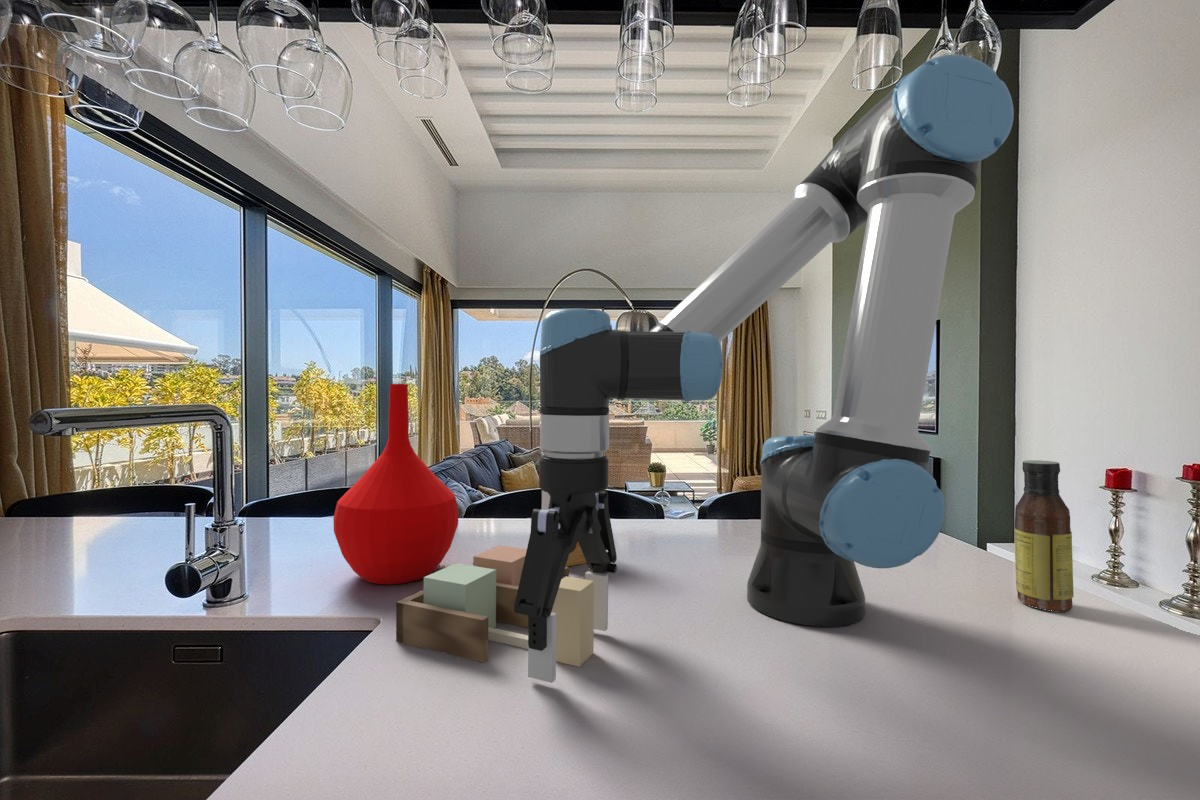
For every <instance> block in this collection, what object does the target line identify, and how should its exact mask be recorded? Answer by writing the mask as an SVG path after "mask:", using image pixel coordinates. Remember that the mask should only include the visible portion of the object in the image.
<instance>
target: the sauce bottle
mask: <svg viewBox="0 0 1200 800" xmlns="http://www.w3.org/2000/svg"><path fill="white" fill-rule="evenodd" d="M1022 471H1023V475H1024V479H1023V481H1024V487H1023V494H1022V496H1021V498H1020V499H1019V501H1018V502H1017V504H1016V505H1015V510H1014V513H1015V514H1014V562H1015V565H1014V566H1015V589H1016V593H1017V599H1018V601H1020V603H1022V602H1023V603H1022V604H1024V603H1025V604H1024V605H1026V604H1028V605H1030V606H1033V607H1037V608H1041V609H1040V610H1042V609H1046V610H1050V611H1049V612H1051V610H1052V611H1059V612H1058V613H1065V612H1069V611H1071V610H1072V608H1073V598H1074V596H1075V595H1074V574H1073V573H1074V572H1073V571H1074V567H1073V566H1074V564H1073V563H1074V562H1073V561H1074V560H1073V532H1072V530H1071V529H1072V528H1071V513H1070V508H1068V506H1067V505H1066V503H1065V502H1064V500H1063V498H1062V496H1061V495H1060V489H1059V487H1060V486H1059V474H1060V473H1061V468H1060V462H1058V461H1053V460H1041V459H1038V460H1037V459H1031V460H1030V459H1029V460H1023V461H1022ZM1028 605H1027V606H1028ZM1046 610H1045V611H1046ZM1063 611H1065V612H1063Z"/></svg>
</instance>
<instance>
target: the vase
mask: <svg viewBox="0 0 1200 800" xmlns="http://www.w3.org/2000/svg"><path fill="white" fill-rule="evenodd" d="M408 391H409V390H408V383H407V384H406V383H389V398H388V400H389V401H388V439H387V442H386V444H385V445H386V446H384V449H383V451H382V453H381V454H380V455H379V456H378V457H377V459H376V460H375V461H374V462H373V463H372V464H371V465H370V467H368V469H367V470H366V472H365V473H364V474H363V475H362V476H361V477H360V478H359V479H358V480H357V481H356V482H355V483H354V484H353V485H352V486H351V487H350V488H349V489H348V490H347V491H346V492H345V493H344V494H343V495H342V496H341V497H340V498H339V499H338V501H336V505H335V510H334V514H333V518H332V519H333V534H334V535H335V539H336V541H337V544H338V546H339V549H340V552H341V555H342V557H343V559H344V560H345V561H346V563H347V564H348V566H350V569H352V571H353V572H354V573H355V574H356V575H358V576H359V577H360V578H361V579H363V580H364V581H366V582H367V583H371V584H375V585H400V584H401V585H402V584H405V583H412V582H415V581H418V580H421V579H424V577H425V576H428V575H430V574H432V572H433V571H434V570H436V569H437V567H438V566H439V565H440V564H441V562H442V561H443V559H444V558H445V556H446V554H447V553H448V551H449V550H450V548H451V547H452V543H453V541H454V538H455V534H456V531H457V528H458V525H459V508H458V502H457V497H456V495H455V493H454V492H453V491H452V490H451V489H450V488H449V487H448V486H447V485H445V483H444V482H443V481H442V480H440V479H439V477H438V476H436V474H434V473H433V471H432V470H431V469H430V468H429V467H428V466H427V465H426V464H425V462H424V461H423V460H422V459H421V458H420V456H418V455H417V454H416V452H415V450H414V449H413V446H412V445H411V440H410V437H409V422H410V421H409V392H408ZM411 581H412V582H411Z"/></svg>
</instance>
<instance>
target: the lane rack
mask: <svg viewBox="0 0 1200 800" xmlns="http://www.w3.org/2000/svg"><path fill="white" fill-rule="evenodd" d="M566 576H567V577H570V566H567V567H565V569H564V573H563V576H562V579H563V578H564V577H566ZM518 587H519V586H514V585H509V584H503V583H497V582H496V623H497V622H498V623H501V624H507V625H508V624H509V625H513V626H517V627H521V628H526V629H528V616H527V615H523V614H518V613H515V612H514V605H515V601H516V596H517V592H518ZM395 606H396V607H395V608H396V612H395V616H396V620H395V622H396V623H395V624H396V625H395V628H396V629H395V630H396V631H395V632H396V633H395V634H396V636H395V641H396V642H398V643H402V644H406V645H411V646H414V647H418V646H419V647H420V648H423V649H426V648H427V650H430V649H431V651H434V650H435V652H438V651H439V653H442V652H444V653H443V654H446V653H447V654H446V655H450V654H451V655H452V656H455V657H460V658H463V659H467V660H471V661H474V662H475V661H476V662H479V663H484V662H486V661H487V660H488V659H489V640H488V617H486V616H482V615H477V614H472V613H467V612H462V611H457V610H452V609H448V608H443V607H438V606H433V605H428V604H424V589H422V590H419V591H418V592H415V593H414V594H411V595H409V596H406V597H405V598H402V599H401V600H398V601H396V603H395ZM451 655H450V656H451Z"/></svg>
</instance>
